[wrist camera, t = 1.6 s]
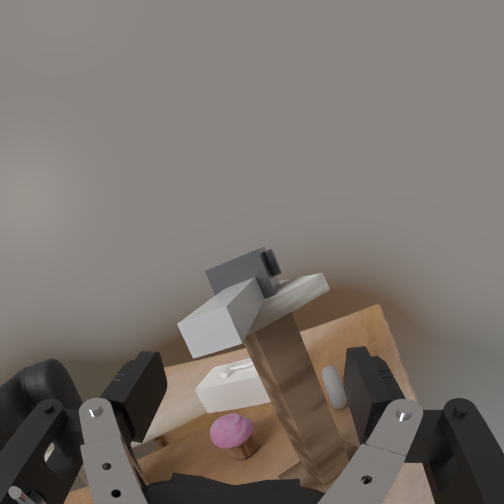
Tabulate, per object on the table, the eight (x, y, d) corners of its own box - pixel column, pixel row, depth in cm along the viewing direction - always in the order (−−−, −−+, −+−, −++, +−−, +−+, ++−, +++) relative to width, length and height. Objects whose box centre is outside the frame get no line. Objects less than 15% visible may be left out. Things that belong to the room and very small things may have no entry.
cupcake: (273, 444, 49) (254, 408, 49) (246, 471, 42) (223, 435, 42) (243, 437, 55) (224, 404, 55) (216, 461, 48) (194, 427, 48)
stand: (282, 482, 36) (195, 317, 36) (336, 443, 41) (271, 282, 42) (324, 517, 25) (225, 322, 26) (384, 465, 31) (323, 272, 31)
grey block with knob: (276, 331, 17) (244, 253, 17) (174, 363, 18) (143, 295, 18) (287, 280, 36) (272, 243, 36) (234, 301, 38) (219, 265, 38)
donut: (352, 414, 48) (339, 375, 48) (336, 420, 49) (322, 382, 49) (344, 391, 58) (332, 355, 58) (330, 396, 59) (317, 361, 59)
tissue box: (224, 389, 86) (210, 361, 86) (298, 371, 80) (285, 340, 80) (208, 413, 72) (191, 382, 72) (291, 398, 66) (276, 363, 66)
